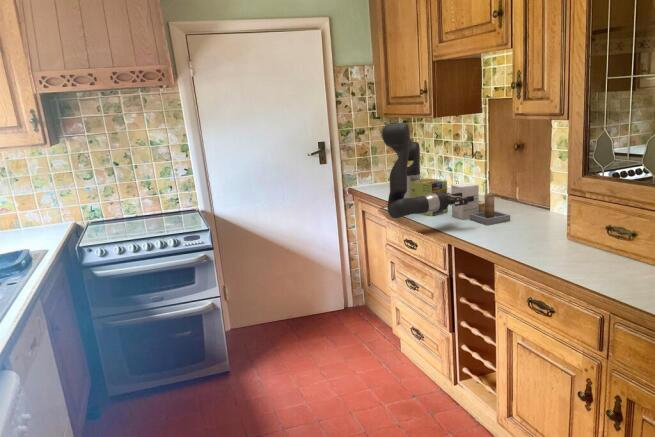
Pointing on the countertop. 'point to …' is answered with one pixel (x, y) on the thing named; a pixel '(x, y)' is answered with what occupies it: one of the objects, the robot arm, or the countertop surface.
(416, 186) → the protein box
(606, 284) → the countertop surface
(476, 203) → the supplement box
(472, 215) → the tray
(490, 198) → the dowel
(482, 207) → the stop block
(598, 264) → the countertop surface
